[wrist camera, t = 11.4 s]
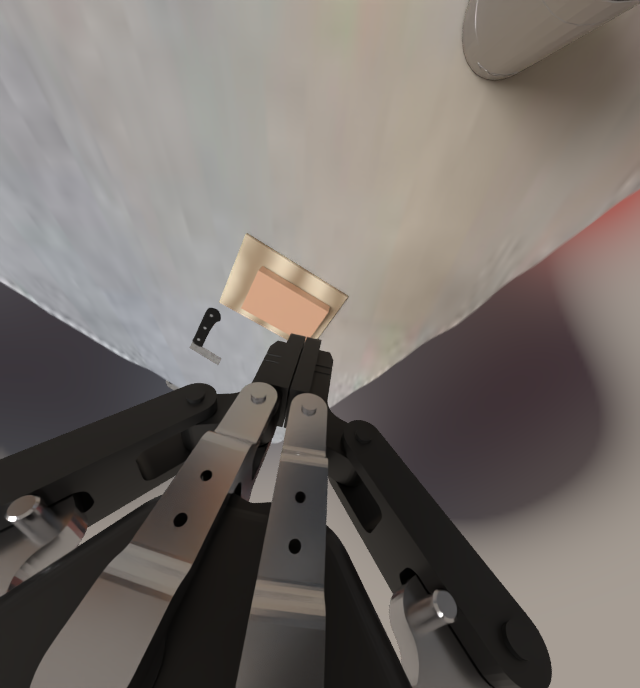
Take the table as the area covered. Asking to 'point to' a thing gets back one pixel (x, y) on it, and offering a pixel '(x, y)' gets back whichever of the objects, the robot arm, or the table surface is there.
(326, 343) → the table surface
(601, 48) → the table surface
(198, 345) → the kitchen knife
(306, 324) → the tile
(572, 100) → the table surface
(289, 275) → the board
